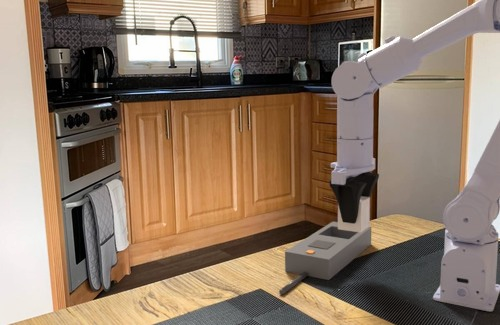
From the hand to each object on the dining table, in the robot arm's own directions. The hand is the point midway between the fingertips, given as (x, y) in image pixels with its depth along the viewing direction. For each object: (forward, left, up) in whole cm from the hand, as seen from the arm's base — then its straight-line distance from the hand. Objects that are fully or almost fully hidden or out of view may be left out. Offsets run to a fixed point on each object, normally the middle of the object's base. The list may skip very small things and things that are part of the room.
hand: (354, 218), depth 85 cm
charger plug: (0, 0, -2) cm, 2 cm away
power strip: (-1, +6, -9) cm, 11 cm away
